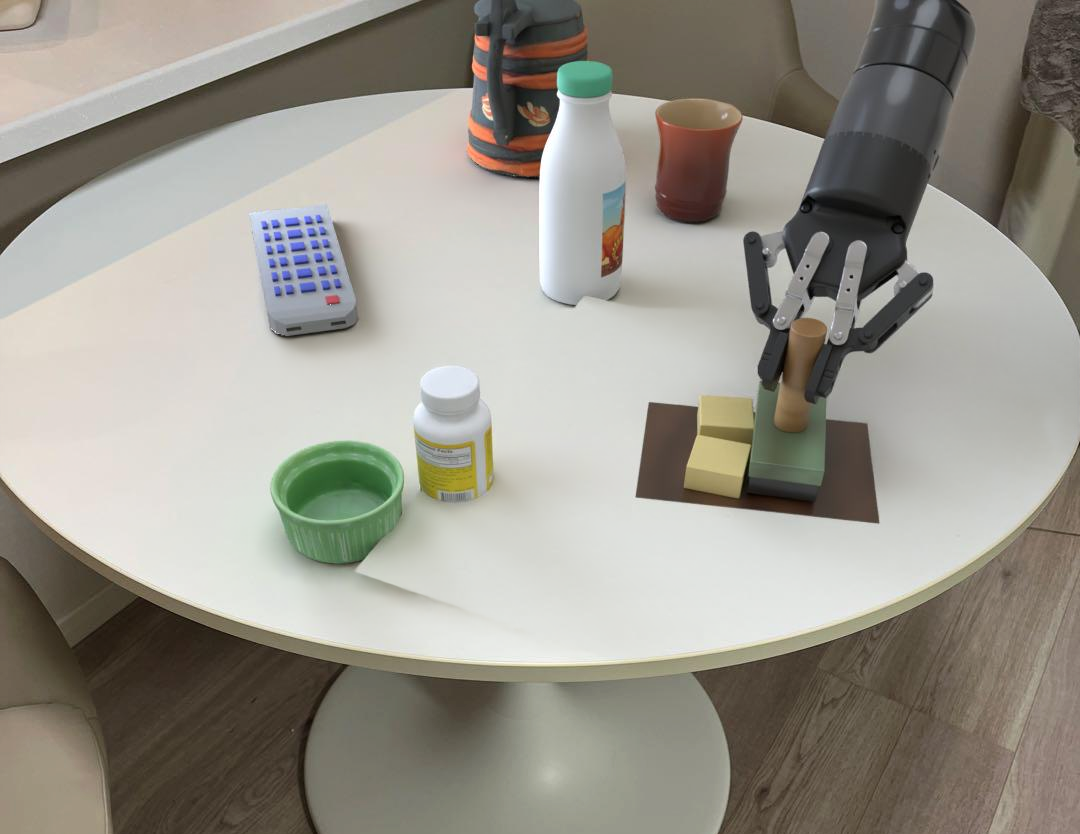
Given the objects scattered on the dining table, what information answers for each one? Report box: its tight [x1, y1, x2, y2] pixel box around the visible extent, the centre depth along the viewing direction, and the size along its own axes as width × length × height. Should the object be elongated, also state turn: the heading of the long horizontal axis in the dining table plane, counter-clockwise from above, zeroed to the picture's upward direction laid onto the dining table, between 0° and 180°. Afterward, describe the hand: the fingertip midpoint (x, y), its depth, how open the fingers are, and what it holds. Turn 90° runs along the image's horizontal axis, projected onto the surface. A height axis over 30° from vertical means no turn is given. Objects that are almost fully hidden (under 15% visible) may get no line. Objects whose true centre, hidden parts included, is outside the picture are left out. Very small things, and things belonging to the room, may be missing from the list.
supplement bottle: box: [412, 365, 495, 503], centre depth 74 cm, size 5×5×10 cm
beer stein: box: [466, 0, 590, 178], centre depth 115 cm, size 19×15×20 cm
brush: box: [747, 317, 828, 501], centre depth 74 cm, size 5×10×11 cm, turn 168°
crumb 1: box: [697, 394, 754, 446], centre depth 80 cm, size 4×4×2 cm
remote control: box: [248, 204, 359, 337], centre depth 101 cm, size 8×23×2 cm, turn 16°
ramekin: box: [269, 439, 405, 564], centre depth 73 cm, size 9×9×4 cm
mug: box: [654, 97, 744, 223], centre depth 110 cm, size 12×9×10 cm
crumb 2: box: [684, 435, 751, 499], centre depth 76 cm, size 4×4×2 cm
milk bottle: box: [538, 60, 627, 306], centre depth 93 cm, size 8×8×20 cm
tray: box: [634, 401, 880, 525], centre depth 79 cm, size 17×12×2 cm
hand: (789, 393), depth 72 cm, fingers closed on brush, 2 cm apart
